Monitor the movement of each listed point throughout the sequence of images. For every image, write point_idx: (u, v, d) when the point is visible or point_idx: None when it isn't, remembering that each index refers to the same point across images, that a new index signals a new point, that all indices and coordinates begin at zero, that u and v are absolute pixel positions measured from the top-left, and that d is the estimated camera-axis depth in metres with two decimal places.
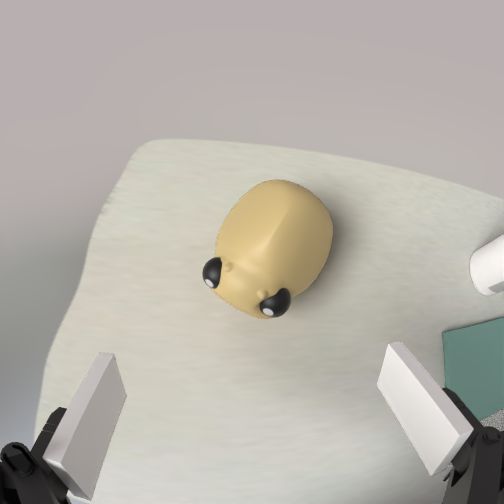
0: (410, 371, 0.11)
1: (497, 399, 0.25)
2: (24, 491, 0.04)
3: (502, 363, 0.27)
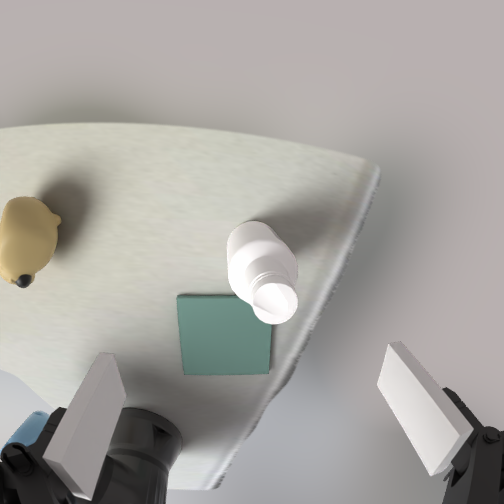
0: (410, 371, 0.11)
1: (246, 365, 0.43)
2: (24, 491, 0.04)
3: (256, 338, 0.42)
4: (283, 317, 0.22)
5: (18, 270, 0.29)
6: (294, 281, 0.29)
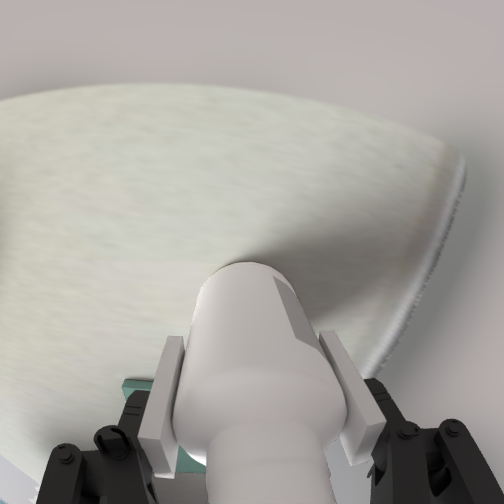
0: (333, 358, 0.12)
1: None
2: (112, 475, 0.06)
3: None
4: None
5: None
6: (335, 439, 0.10)
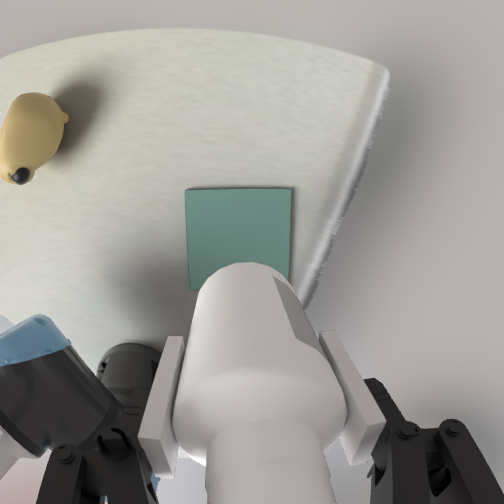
0: (333, 358, 0.12)
1: None
2: (112, 475, 0.06)
3: (273, 239, 0.38)
4: None
5: (17, 161, 0.26)
6: (335, 439, 0.10)
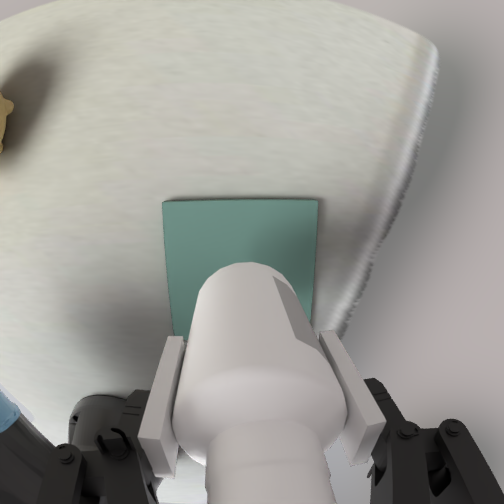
0: (333, 358, 0.12)
1: None
2: (112, 475, 0.06)
3: (291, 272, 0.26)
4: None
5: None
6: (335, 439, 0.10)
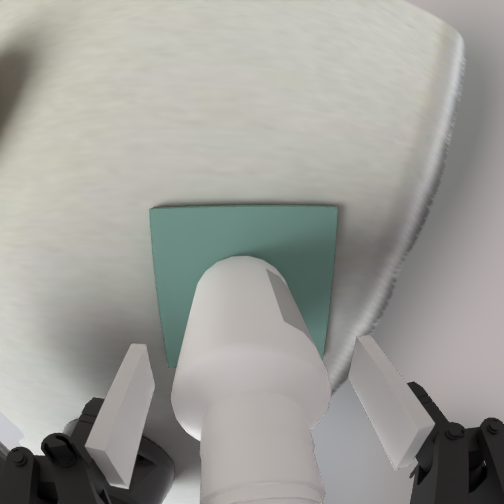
0: (375, 364, 0.11)
1: None
2: (62, 482, 0.05)
3: (304, 292, 0.22)
4: None
5: None
6: (321, 417, 0.11)
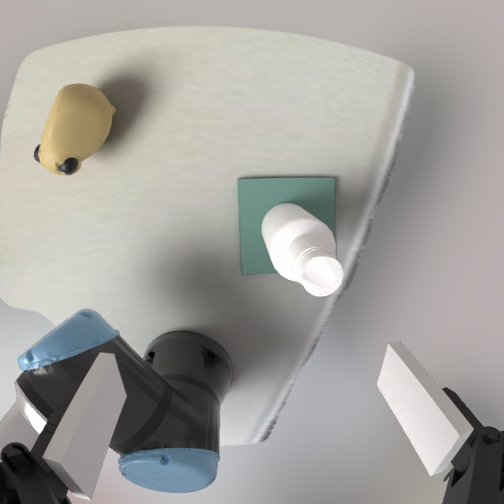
0: (410, 371, 0.11)
1: None
2: (24, 491, 0.04)
3: None
4: (330, 289, 0.23)
5: (66, 150, 0.29)
6: None
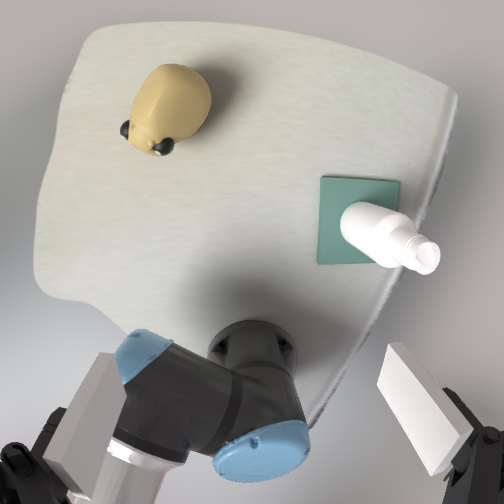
0: (410, 371, 0.11)
1: None
2: (24, 491, 0.04)
3: None
4: (431, 268, 0.26)
5: (166, 129, 0.31)
6: None
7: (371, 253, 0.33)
